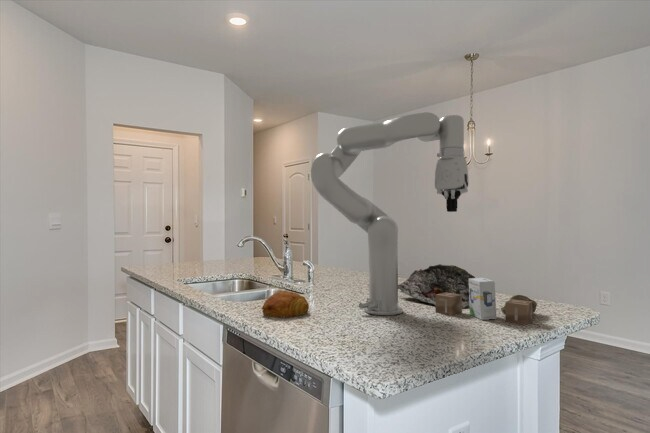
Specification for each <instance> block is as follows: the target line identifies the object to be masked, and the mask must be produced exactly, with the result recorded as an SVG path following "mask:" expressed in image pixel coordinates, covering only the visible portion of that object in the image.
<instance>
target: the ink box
mask: <svg viewBox="0 0 650 433" xmlns="http://www.w3.org/2000/svg"><path fill="white" fill-rule="evenodd" d="M495 285H496V282H495V281H494V280H492V279H489V278H486V277H475V278H470V279H469V305H468V306H469V315H471V316H473V317H475V318H477V319H479V320H480V321H486V320H488V321H490V320H489V319H495V320H497V307H496V303H497V301H496V286H495Z"/></svg>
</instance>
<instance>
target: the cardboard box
mask: <svg viewBox="0 0 650 433" xmlns="http://www.w3.org/2000/svg"><path fill="white" fill-rule="evenodd" d="M435 313H436V314H440V313H441V315H446V316H450V317H451V316H456V314H457V315H460V314H463V309H462V295H459V294H453V293H447V292H446V293H441V294H436V305H435Z"/></svg>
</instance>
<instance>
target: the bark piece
mask: <svg viewBox="0 0 650 433" xmlns="http://www.w3.org/2000/svg"><path fill="white" fill-rule="evenodd" d="M470 278H476V277H475V276H474V275H472V274H471V273H469V272H468V271H467V270H466V269H464V268H461V267H460V266H459V267H458V266H457V265H453V264H452V265H448V264H447V265H446V264H440V263H439V264H435V265H429V267H427V268H425V269H422V268H420V269H419V270H417V269H416V270H414V271H413V272H412V273H411V274H410V276H408V278H407V279H405V280H404V281H403V282H402V283H401V284H400V283H399V284H398V290H399V291H400V292H401V293H402V294H404V295H407V296H409V297H411V298H414V299H417V300H419V301H421V302H424V303H428V304H432V305H434V306H436V294H441V293H446V292H447V293H453V294H459V295H462V310H463V309H465V308H466V307H467V306H470V305H469V279H470Z"/></svg>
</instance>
